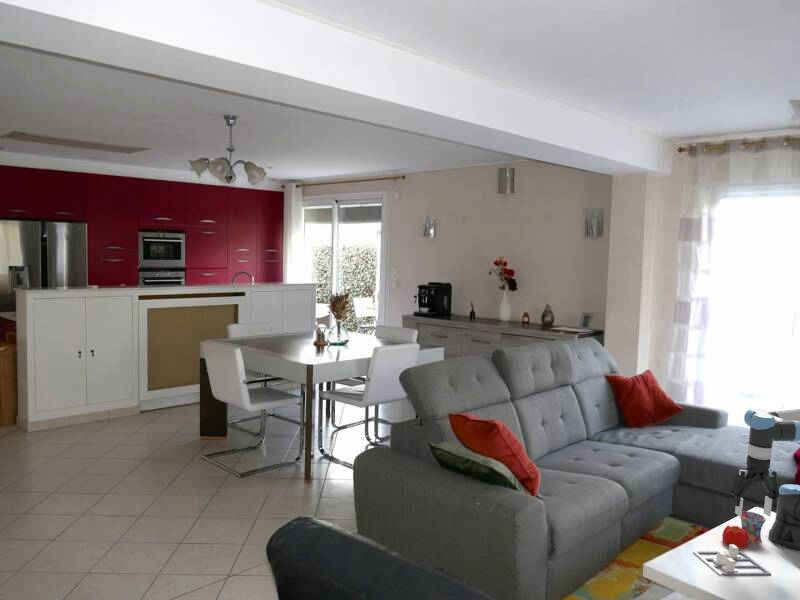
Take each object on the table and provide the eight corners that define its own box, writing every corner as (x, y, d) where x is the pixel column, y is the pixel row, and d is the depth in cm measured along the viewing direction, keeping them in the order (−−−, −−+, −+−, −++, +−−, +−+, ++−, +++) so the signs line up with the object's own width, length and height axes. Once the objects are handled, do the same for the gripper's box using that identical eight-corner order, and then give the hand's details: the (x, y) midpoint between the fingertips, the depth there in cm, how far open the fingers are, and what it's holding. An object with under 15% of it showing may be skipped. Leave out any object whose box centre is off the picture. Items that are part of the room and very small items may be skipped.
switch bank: (742, 556, 240) (742, 551, 239) (771, 579, 224) (772, 573, 224) (692, 556, 237) (692, 551, 237) (718, 579, 221) (719, 573, 221)
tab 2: (734, 554, 238) (736, 544, 237) (740, 559, 234) (741, 548, 234) (724, 554, 237) (726, 543, 237) (730, 559, 234) (731, 548, 233)
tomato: (733, 540, 254) (735, 522, 253) (752, 551, 245) (754, 532, 245) (715, 543, 250) (717, 524, 250) (734, 553, 242) (736, 534, 241)
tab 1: (723, 561, 232) (724, 550, 231) (728, 566, 228) (730, 555, 228) (712, 561, 231) (714, 550, 231) (718, 566, 228) (719, 555, 228)
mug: (756, 549, 247) (759, 523, 246) (732, 539, 254) (734, 513, 253) (770, 542, 254) (773, 516, 253) (746, 533, 261) (749, 508, 260)
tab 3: (731, 568, 227) (733, 557, 226) (737, 573, 224) (739, 562, 223) (721, 568, 226) (722, 557, 226) (727, 573, 223) (728, 562, 223)
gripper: (781, 453, 238) (774, 510, 240) (723, 452, 235) (716, 509, 237) (795, 460, 231) (788, 519, 233) (736, 459, 228) (729, 518, 230)
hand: (752, 514), depth 235 cm, fingers open, 11 cm apart
